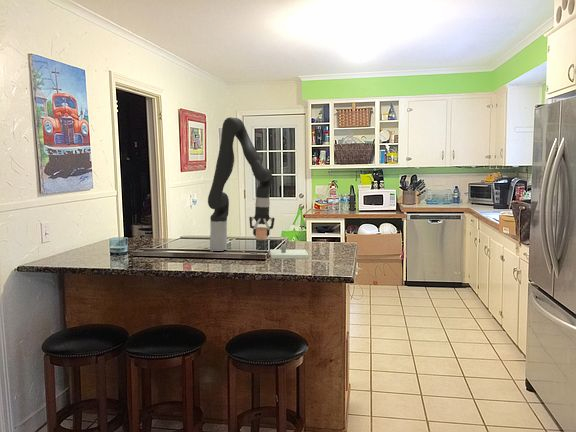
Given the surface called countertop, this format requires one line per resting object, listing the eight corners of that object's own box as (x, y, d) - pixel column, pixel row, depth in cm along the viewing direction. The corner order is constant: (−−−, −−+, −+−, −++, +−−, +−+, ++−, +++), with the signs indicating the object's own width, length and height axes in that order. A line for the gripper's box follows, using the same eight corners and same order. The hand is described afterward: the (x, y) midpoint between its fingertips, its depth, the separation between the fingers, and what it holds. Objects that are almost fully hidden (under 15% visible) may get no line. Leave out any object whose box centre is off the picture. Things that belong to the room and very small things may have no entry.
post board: (271, 258, 254) (271, 247, 253) (270, 252, 268) (270, 242, 267) (308, 258, 256) (309, 247, 255) (305, 253, 270) (305, 242, 269)
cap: (255, 238, 257) (255, 228, 257) (255, 236, 264) (255, 226, 263) (266, 239, 258) (267, 229, 257) (266, 237, 264) (266, 227, 263)
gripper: (249, 206, 254) (248, 237, 256) (276, 207, 255) (274, 237, 258) (249, 204, 261) (247, 234, 264) (275, 205, 262) (273, 235, 265)
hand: (261, 235), depth 261 cm, fingers closed on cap, 6 cm apart
